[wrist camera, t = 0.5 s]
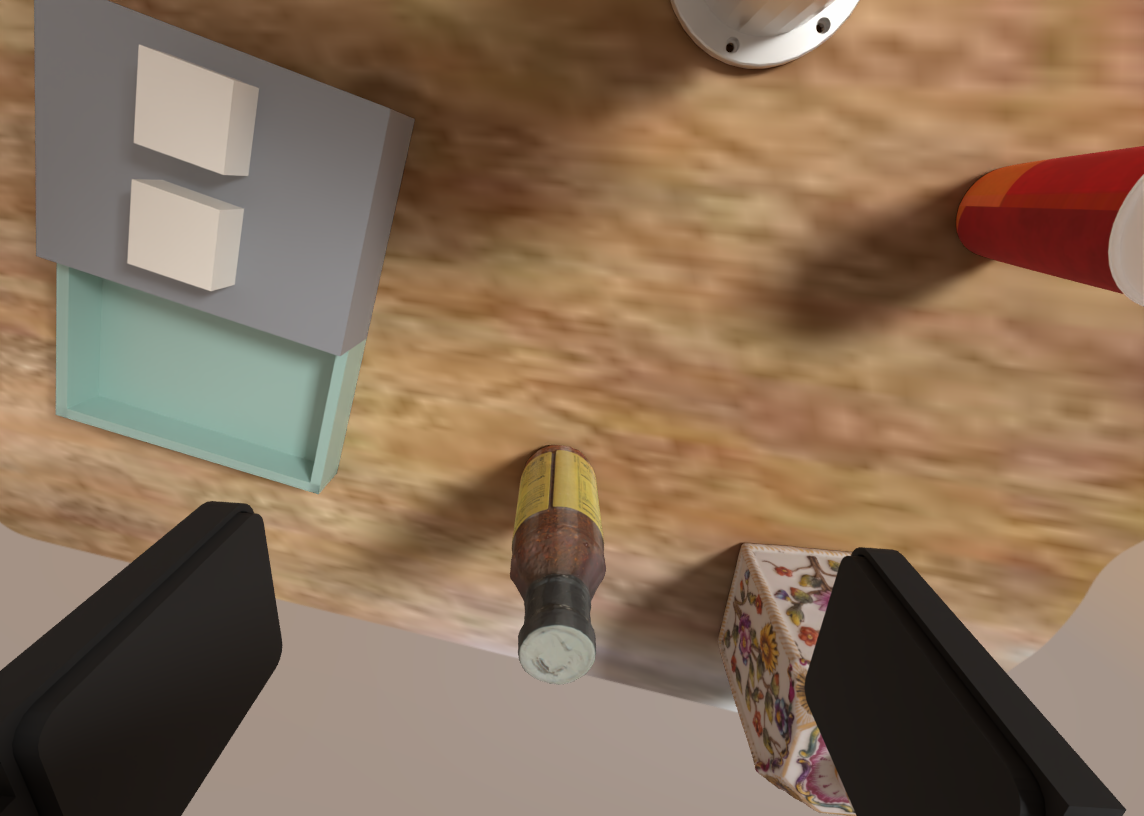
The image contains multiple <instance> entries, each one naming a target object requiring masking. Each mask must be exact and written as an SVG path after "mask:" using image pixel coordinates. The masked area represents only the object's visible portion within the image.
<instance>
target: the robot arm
mask: <svg viewBox="0 0 1144 816" xmlns="http://www.w3.org/2000/svg"><path fill="white" fill-rule="evenodd" d="M670 1H671V4H672V7H673V10H674V12H675V14H676V16H677V18H678V20H679V22H680V23H681V25H682V27H683V29H684V30H685V31H686V33H687V34H688V35H689V36H690V37H691V39H692V40H693V41H694V42H695V44H696V45H698V46H699V47H700V48H701V49H703V50H704V51H705V52H706V53H708V54H709V55H710V56H712V57H714V58H716V59H718V60H720V61H722V62H724V63H726V64H728V65H733V66H737V67H741V68H746V69H765V68H770V67H775V66H779V65H784V64H786V63H788V62H791V61H793V60H795V59H798V58H800V57H802V56H804V55H805V54H807V53H809V52H810V51H812V50H814V49H815V48H817V47H818V46H820V45H821V44H822V43H823V42H825V41H826V40H827V39H829V38H830V37H831V36H832V35H833V34H834V33H835V32H836V31H837V30H838V29H839V28H840V26H841V25H842V24H843V23H844V22H845V21H846V20H847V19H848V17H849V16H850V15H851V13H852V12H853V10H854V9H855V7H856V6H857V4H858V2H859V1H860V0H670ZM816 25H819V26H820V27H821V32H820V33H818V32H817V30H816ZM728 44H730V45H732V47H733V50H732V52H731V53H730V52H727V51H726V45H728ZM281 653H282V638H281V631H280V625H279V619H278V612H277V606H276V599H275V593H274V587H273V580H272V574H271V567H270V561H269V554H268V548H267V542H266V535H265V529H264V523H263V519H262V517H261V516H260V515H259V514H254V512H253V509H252V508H251V507H250V505H248V504H244V503H230V502H216V501H210V502H206V503H204V504H202V505H201V506H200V507H198V508H197V509H196V510H195V511H194V512H192V513H191V514H190V515H189V516H188V517H186V518H185V519H184V520H183V521H181V522H180V523H179V524H178V525H177V526H175V527H174V528H173V529H172V530H171V531H169V532H168V533H167V534H166V535H165V536H163V537H162V538H161V539H160V540H158V541H157V542H156V543H155V544H154V545H152V546H151V547H150V548H149V549H148V550H146V551H145V552H144V553H143V554H141V555H140V556H139V557H138V558H137V559H135V560H134V561H133V562H132V563H131V564H129V565H128V566H127V567H126V568H124V569H123V570H122V571H121V572H120V573H118V574H117V575H116V576H115V577H114V578H112V579H111V580H110V581H109V582H108V583H106V584H105V585H104V586H103V587H101V588H100V589H99V590H98V591H97V592H95V593H94V594H93V595H92V596H91V597H89V598H88V599H87V600H86V601H85V602H83V603H82V604H81V605H80V606H78V607H77V608H76V609H75V610H74V611H72V612H71V613H70V614H69V615H67V616H66V617H65V618H64V619H63V620H61V621H60V622H59V623H58V624H57V625H55V626H54V627H53V628H52V629H51V630H49V631H48V632H47V633H46V634H44V635H43V636H42V637H41V638H40V639H39V640H37V641H36V642H35V643H34V644H32V645H31V646H30V647H29V648H27V649H26V650H25V651H24V652H23V653H21V654H20V655H19V656H18V657H17V658H15V659H14V660H13V661H12V662H10V663H9V664H8V665H7V666H6V667H4V668H3V669H2V670H1V671H0V816H181V815H182V813H183V812H184V810H185V808H186V807H187V806H188V804H189V802H190V801H191V799H192V798H193V796H194V795H195V793H196V792H197V790H198V788H199V787H200V785H201V784H202V782H203V781H204V779H205V777H206V776H207V774H208V773H209V771H210V770H211V768H212V766H213V765H214V763H215V762H216V760H217V759H218V757H219V756H220V754H221V753H222V751H223V750H224V748H225V746H226V745H227V743H228V742H229V740H230V738H231V737H232V736H233V734H234V732H235V731H236V729H237V728H238V726H239V725H240V723H241V721H242V720H243V718H244V717H245V715H246V714H247V712H248V710H249V709H250V708H251V706H252V704H253V703H254V701H255V700H256V698H257V697H258V695H259V693H260V692H261V690H262V689H263V687H264V686H265V684H266V683H267V681H268V679H269V678H270V676H271V675H272V673H273V671H274V670H275V669H276V666H277V665H278V662H279V660H280V657H281ZM805 696H806V701H807V704H808V706H809V709H810V711H811V713H812V715H813V718H814V720H815V722H816V724H817V727H818V729H819V731H820V734H821V736H822V738H823V740H824V743H825V745H826V747H827V750H828V752H829V754H830V756H831V759H832V761H833V763H834V765H835V768H836V770H837V772H838V775H839V777H840V779H841V781H842V784H843V786H844V788H845V791H846V793H847V795H848V797H849V800H850V802H851V804H852V807H853V809H854V811H855V813H856V816H1123V814H1124V813H1125V811H1126V809H1125V808H1124V807H1123V806H1122V804H1121V803H1120V802H1119V801H1118V800H1117V799H1116V797H1115V796H1114V795H1113V794H1112V793H1111V792H1110V791H1109V789H1108V788H1107V787H1106V786H1105V785H1104V784H1103V783H1102V782H1101V781H1100V779H1099V778H1098V777H1097V776H1096V775H1095V774H1094V773H1093V771H1092V770H1091V769H1090V768H1089V767H1088V766H1087V765H1086V763H1085V762H1084V761H1083V760H1082V759H1081V758H1080V756H1079V755H1078V754H1077V753H1076V752H1075V751H1074V750H1073V749H1072V748H1071V746H1070V745H1069V744H1068V743H1067V742H1066V741H1065V739H1064V738H1063V737H1062V736H1061V735H1060V734H1059V733H1058V731H1057V730H1056V729H1055V728H1054V727H1053V726H1052V725H1051V723H1050V722H1049V721H1048V720H1047V719H1046V718H1045V717H1044V716H1043V714H1042V713H1041V712H1040V711H1039V710H1038V709H1037V708H1036V707H1035V705H1034V704H1033V703H1032V702H1031V701H1030V700H1029V698H1028V697H1027V696H1026V695H1025V694H1024V693H1023V692H1022V690H1021V689H1020V688H1019V687H1018V686H1017V685H1016V684H1015V683H1014V681H1013V680H1012V679H1011V678H1010V677H1009V676H1008V675H1007V673H1006V672H1005V671H1004V670H1003V669H1002V668H1001V667H1000V665H999V664H998V663H997V662H996V661H995V660H994V659H993V657H992V656H991V655H990V654H989V653H988V652H987V651H986V650H985V648H984V647H983V646H982V645H981V644H980V643H979V642H978V640H977V639H976V638H975V637H974V636H973V635H972V634H971V632H970V631H969V630H968V629H967V628H966V627H965V626H964V625H963V623H962V622H961V621H960V620H959V619H958V618H957V617H956V615H955V614H954V613H953V612H952V611H951V610H950V609H949V607H948V606H947V605H946V604H945V603H944V602H943V601H942V599H941V598H940V597H939V596H938V595H937V594H936V593H935V592H934V590H933V589H932V588H931V587H930V586H929V585H928V584H927V582H926V581H925V580H924V579H923V578H922V577H921V576H920V574H919V573H918V572H917V571H916V570H915V569H914V568H913V566H912V565H911V564H910V563H909V562H908V561H907V560H906V559H905V557H904V556H903V555H902V554H901V553H899V552H898V551H896V550H890V549H876V548H862V547H860V548H856V549H855V550H854V551H853V552H852V554H851V556H845V557H844V558H843V559H842V560H841V563H840V565H839V569H838V572H837V575H836V579H835V582H834V585H833V589H832V592H831V595H830V598H829V602H828V605H827V608H826V612H825V615H824V618H823V622H822V625H821V628H820V631H819V635H818V638H817V641H816V645H815V648H814V651H813V655H812V658H811V661H810V665H809V668H808V671H807V674H806V678H805Z"/></svg>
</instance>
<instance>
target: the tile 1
mask: <svg viewBox="0 0 1144 816" xmlns="http://www.w3.org/2000/svg"><path fill="white" fill-rule="evenodd" d="M258 93H259V88H258V87H255V86H252V85H250V84H247V83H244V82H242V81H239V80H236V79H234V78H231V77H228V76H226V75H223V74H220V73H218V72H215V71H213V70H210V69H207V68H205V67H202V66H199V65H197V64H194V63H191V62H189V61H186V60H183V59H181V58H178V57H175V56H173V55H170V54H167V53H164V52H161V51H158V50H155V49H152V48H149V47H146V46H142V45H139V49H138V69H137V88H136V107H135V126H134V143H136V144H138V145H141V146H144V147H147V148H150V149H152V150H155V151H158V152H161V153H164V154H166V155H169V156H172V157H175V158H178V159H180V160H183V161H186V162H189V163H191V164H194V165H197V166H200V167H203V168H205V169H208V170H211V171H214V172H217V173H219V174H222V175H236V176H248V174H249V166H250V158H251V150H252V142H253V134H254V126H255V118H256V110H257V101H258Z"/></svg>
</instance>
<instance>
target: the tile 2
mask: <svg viewBox="0 0 1144 816" xmlns="http://www.w3.org/2000/svg"><path fill="white" fill-rule="evenodd" d="M243 214H244V208H241V207H238V206H235V205H232V204H229V203H227V202H224V201H221V200H218V199H215V198H212V197H210V196H207V195H204V194H201V193H198V192H195V191H193V190H190V189H187V188H184V187H181V186H178V185H176V184H173V183H170V182H167V181H164V180H147V179H132V184H131V203H130V222H129V241H128V261H127V263H128V264H131V265H134V266H137V267H140V268H143V269H146V270H149V271H152V272H155V273H158V274H161V275H164V276H167V277H170V278H173V279H176V280H179V281H182V282H185V283H188V284H191V285H194V286H197V287H200V288H203V289H206V290H208V291H214V290H217V289H221V288H225V287H228V286H232V285H235V278H236V270H237V262H238V254H239V246H240V238H241V230H242V222H243Z"/></svg>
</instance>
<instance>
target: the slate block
mask: <svg viewBox="0 0 1144 816" xmlns="http://www.w3.org/2000/svg"><path fill="white" fill-rule="evenodd" d="M34 36H35V162H36V256H38V257H41V258H44V259H47V260H50V261H53V262H56V263H59V264H62V265H65V266H68V267H71V268H74V269H77V270H80V271H83V272H86V273H89V274H92V275H95V276H98V277H101V278H104V279H107V280H110V281H113V282H116V283H119V284H122V285H125V286H128V287H131V288H134V289H138V290H141V291H144V292H147V293H150V294H153V295H156V296H159V297H162V298H165V299H168V300H171V301H174V302H177V303H180V304H183V305H186V306H189V307H192V308H195V309H198V310H201V311H204V312H207V313H210V314H213V315H216V316H219V317H222V318H225V319H228V320H231V321H234V322H237V323H240V324H243V325H246V326H249V327H252V328H255V329H258V330H261V331H264V332H267V333H271V334H274V335H277V336H280V337H283V338H286V339H289V340H292V341H295V342H298V343H301V344H304V345H307V346H310V347H313V348H316V349H319V350H322V351H325V352H328V353H331V354H334V355H337V356H342V355H343V354H345V353H346V352H348V351H349V350H350V349H352V348H353V347H355V346H356V345H358V344H359V343H361V342H362V341H364V340H365V339H366V338H367V334H368V330H369V325H370V321H371V316H372V312H373V307H374V303H375V298H376V294H377V289H378V285H379V280H380V275H381V271H382V266H383V262H384V257H385V253H386V248H387V244H388V239H389V235H390V230H391V226H392V221H393V217H394V212H395V207H396V203H397V198H398V194H399V189H400V185H401V180H402V176H403V171H404V167H405V162H406V158H407V153H408V149H409V144H410V139H411V135H412V130H413V126H414V121H415V119H414V118H411V117H409V116H406V115H404V114H402V113H399V112H397V111H395V110H392V109H390V108H387V107H385V106H382V105H379V104H377V103H374V102H372V101H369V100H366V99H364V98H361V97H358V96H356V95H353V94H351V93H348V92H345V91H343V90H340V89H338V88H335V87H332V86H330V85H327V84H325V83H322V82H319V81H317V80H314V79H311V78H309V77H306V76H304V75H301V74H298V73H296V72H293V71H291V70H288V69H285V68H283V67H280V66H278V65H275V64H272V63H270V62H267V61H264V60H262V59H259V58H257V57H254V56H251V55H249V54H246V53H244V52H241V51H238V50H236V49H233V48H231V47H228V46H225V45H223V44H220V43H217V42H215V41H212V40H210V39H207V38H204V37H202V36H199V35H197V34H194V33H191V32H189V31H186V30H184V29H181V28H178V27H176V26H173V25H170V24H168V23H165V22H163V21H160V20H157V19H155V18H152V17H150V16H147V15H144V14H142V13H139V12H137V11H134V10H131V9H129V8H126V7H123V6H121V5H118V4H116V3H113V2H110V1H108V0H34ZM139 45H142V46H146V47H149V48H152V49H155V50H158V51H161V52H164V53H167V54H170V55H173V56H175V57H178V58H181V59H183V60H186V61H189V62H191V63H194V64H197V65H199V66H202V67H205V68H207V69H210V70H213V71H215V72H218V73H220V74H223V75H226V76H228V77H231V78H234V79H236V80H239V81H242V82H244V83H247V84H250V85H252V86H255V87H258V88H259V93H258V101H257V110H256V118H255V126H254V134H253V142H252V150H251V158H250V166H249V174H248V176H236V175H222V174H219V173H217V172H214V171H211V170H208V169H205V168H203V167H200V166H197V165H194V164H191V163H189V162H186V161H183V160H180V159H178V158H175V157H172V156H169V155H166V154H164V153H161V152H158V151H155V150H152V149H150V148H147V147H144V146H141V145H138V144H136V143H134V126H135V107H136V88H137V69H138V49H139ZM132 179H147V180H164V181H167V182H170V183H173V184H176V185H178V186H181V187H184V188H187V189H190V190H193V191H195V192H198V193H201V194H204V195H207V196H210V197H212V198H215V199H218V200H221V201H224V202H227V203H229V204H232V205H235V206H238V207H241V208H244V214H243V222H242V230H241V238H240V246H239V254H238V262H237V270H236V278H235V285H232V286H228V287H225V288H221V289H217V290H214V291H208V290H206V289H203V288H200V287H197V286H194V285H191V284H188V283H185V282H182V281H179V280H176V279H173V278H170V277H167V276H164V275H161V274H158V273H155V272H152V271H149V270H146V269H143V268H140V267H137V266H134V265H131V264H128V263H127V261H128V241H129V222H130V203H131V184H132Z"/></svg>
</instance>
